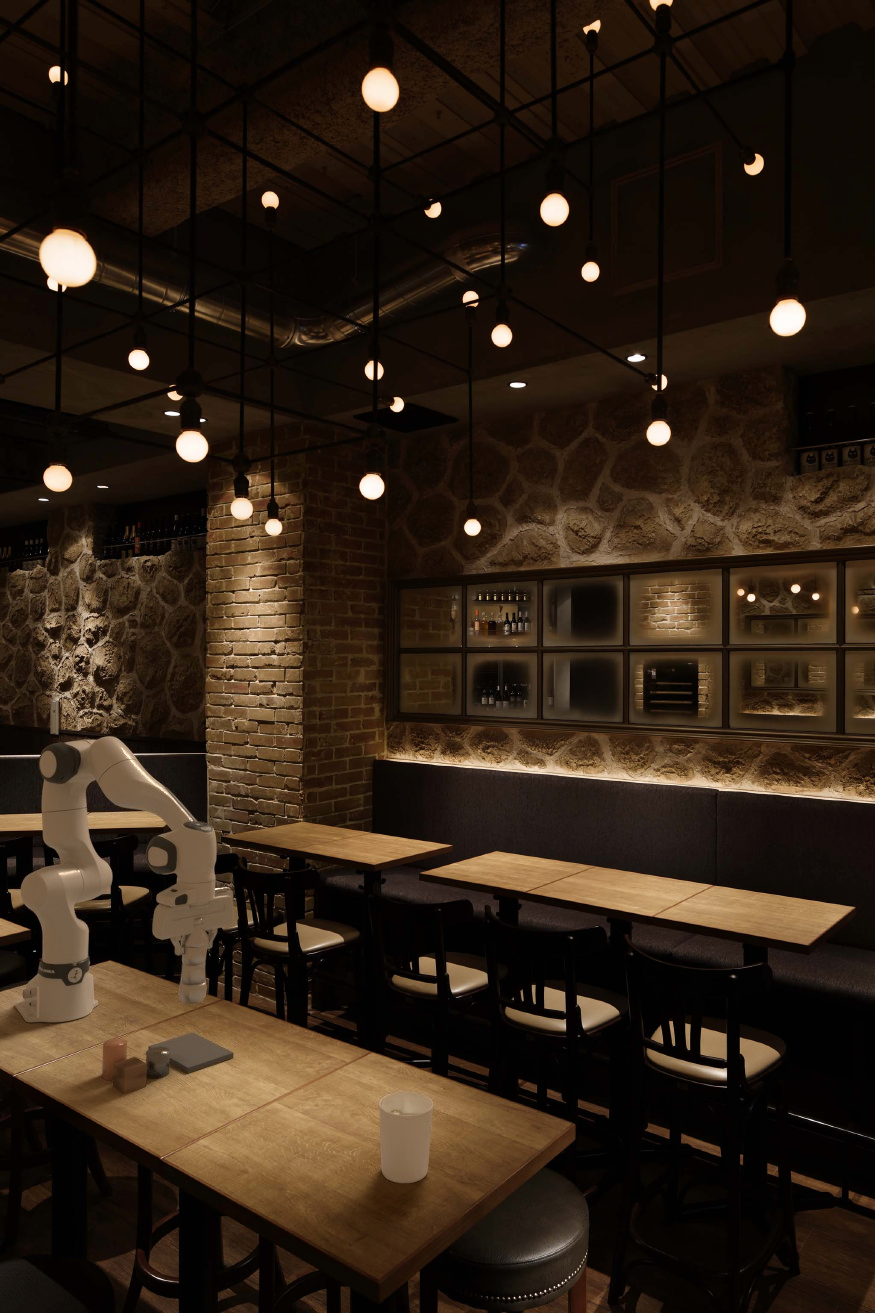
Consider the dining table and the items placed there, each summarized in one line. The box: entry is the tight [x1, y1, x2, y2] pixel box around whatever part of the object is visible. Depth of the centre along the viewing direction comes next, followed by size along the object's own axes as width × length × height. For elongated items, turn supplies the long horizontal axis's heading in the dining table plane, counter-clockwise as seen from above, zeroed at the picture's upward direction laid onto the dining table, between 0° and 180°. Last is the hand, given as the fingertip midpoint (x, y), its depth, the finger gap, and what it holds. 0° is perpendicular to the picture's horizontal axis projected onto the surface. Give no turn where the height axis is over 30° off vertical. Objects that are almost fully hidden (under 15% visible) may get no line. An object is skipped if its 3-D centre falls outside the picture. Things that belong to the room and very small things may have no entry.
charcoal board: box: [147, 1032, 235, 1074], centre depth 208 cm, size 17×12×1 cm
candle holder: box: [378, 1090, 434, 1184], centre depth 160 cm, size 10×10×12 cm
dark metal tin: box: [145, 1047, 170, 1080], centre depth 197 cm, size 5×5×5 cm
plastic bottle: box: [177, 917, 209, 1005], centre depth 209 cm, size 6×7×20 cm
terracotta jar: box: [101, 1038, 128, 1081], centre depth 196 cm, size 5×5×7 cm
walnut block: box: [111, 1056, 147, 1095], centre depth 190 cm, size 5×5×5 cm
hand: (193, 951), depth 209 cm, fingers closed on plastic bottle, 6 cm apart
